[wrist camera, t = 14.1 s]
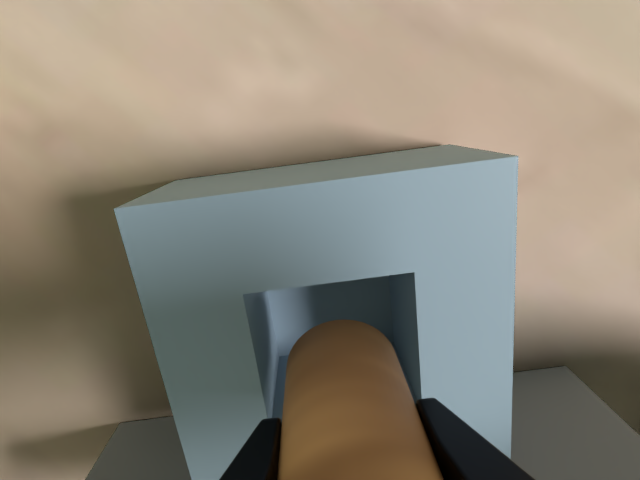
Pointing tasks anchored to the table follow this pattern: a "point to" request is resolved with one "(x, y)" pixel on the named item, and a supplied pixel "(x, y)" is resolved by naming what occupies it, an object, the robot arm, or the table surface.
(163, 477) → the wall
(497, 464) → the robot arm
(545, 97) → the table surface
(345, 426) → the dowel
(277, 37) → the table surface
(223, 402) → the block
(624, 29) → the table surface
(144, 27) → the table surface
